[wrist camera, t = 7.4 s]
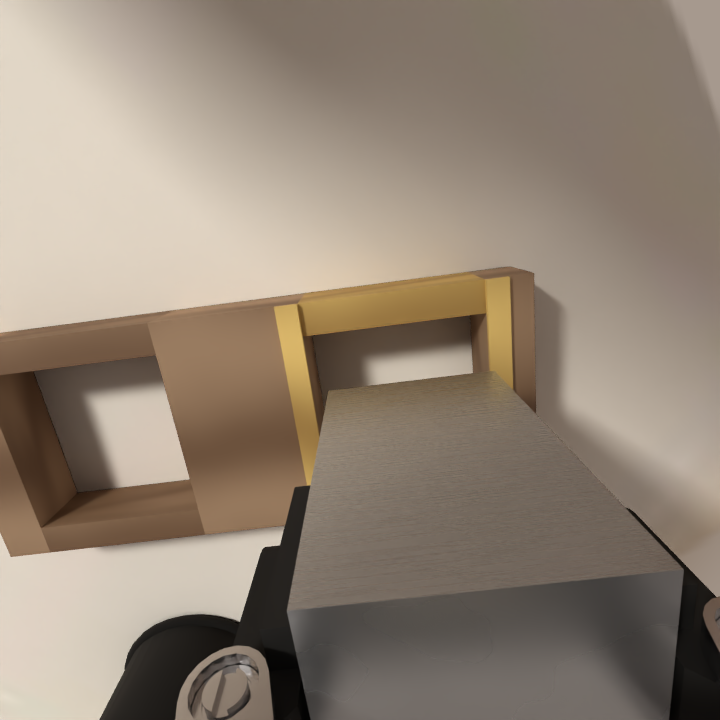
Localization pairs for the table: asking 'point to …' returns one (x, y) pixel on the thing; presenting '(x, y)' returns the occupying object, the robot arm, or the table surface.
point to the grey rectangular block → (473, 568)
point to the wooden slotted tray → (225, 403)
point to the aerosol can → (166, 665)
